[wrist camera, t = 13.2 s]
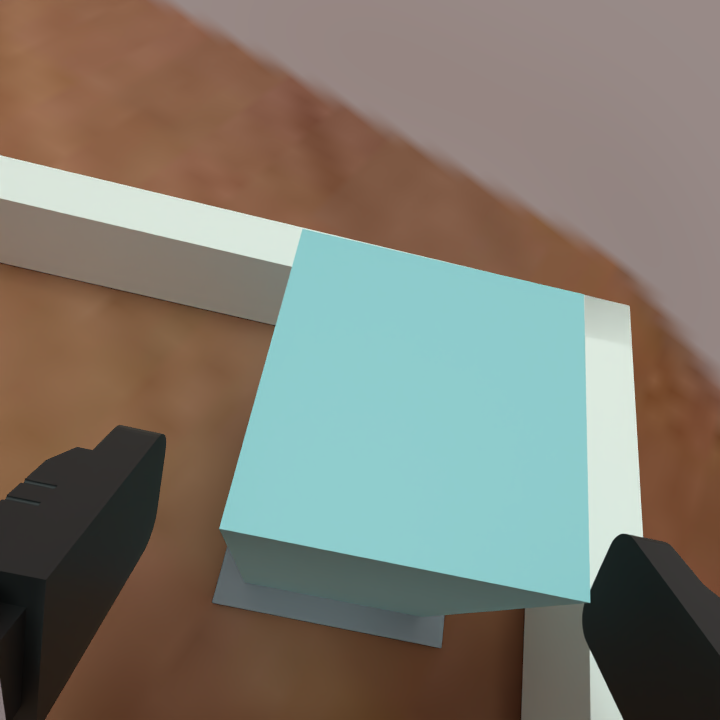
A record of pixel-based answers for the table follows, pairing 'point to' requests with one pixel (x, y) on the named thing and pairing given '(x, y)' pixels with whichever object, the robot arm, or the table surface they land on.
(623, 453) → the white l-shaped bracket
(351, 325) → the teal block
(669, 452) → the table surface
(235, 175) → the table surface
